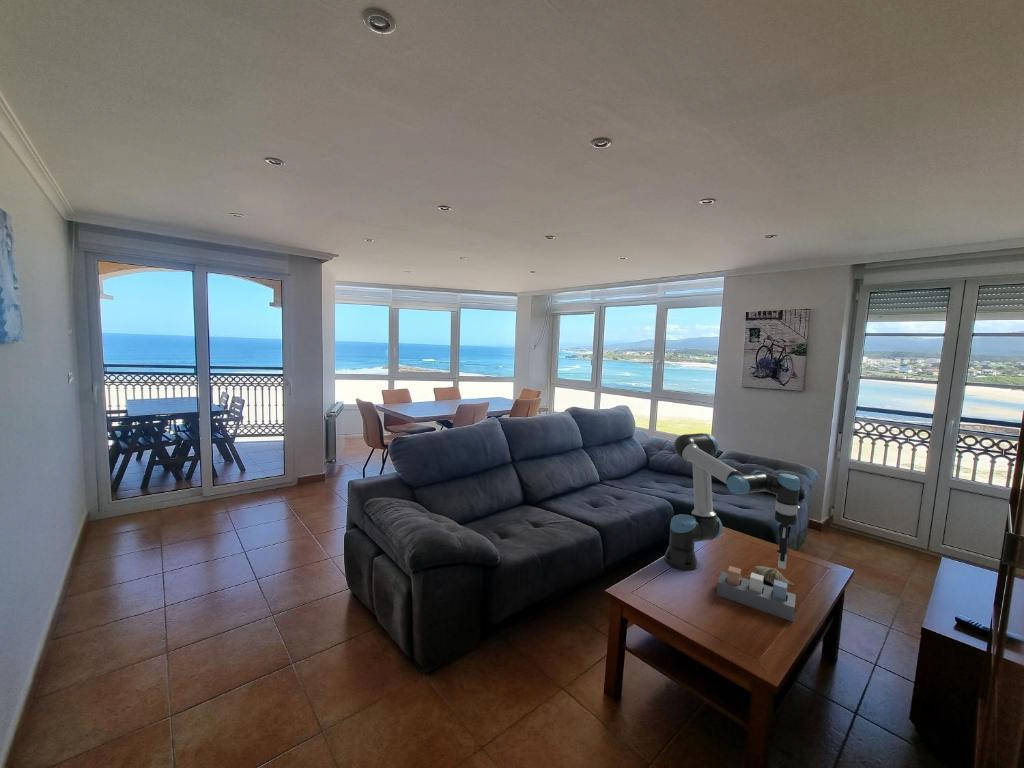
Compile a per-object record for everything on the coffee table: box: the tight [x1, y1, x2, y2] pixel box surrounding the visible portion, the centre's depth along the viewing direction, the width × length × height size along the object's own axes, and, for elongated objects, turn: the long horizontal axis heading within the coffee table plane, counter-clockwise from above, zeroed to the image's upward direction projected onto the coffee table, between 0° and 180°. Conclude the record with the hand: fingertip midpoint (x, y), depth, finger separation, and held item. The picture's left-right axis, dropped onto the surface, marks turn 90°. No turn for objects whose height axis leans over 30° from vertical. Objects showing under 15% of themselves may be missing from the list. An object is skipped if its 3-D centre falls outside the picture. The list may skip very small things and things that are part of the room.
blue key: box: [772, 579, 788, 601], centre depth 171 cm, size 5×5×7 cm
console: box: [716, 571, 796, 622], centre depth 177 cm, size 28×11×6 cm, turn 53°
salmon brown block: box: [727, 565, 742, 586], centre depth 181 cm, size 5×5×7 cm
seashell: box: [755, 565, 795, 587], centre depth 189 cm, size 14×9×10 cm
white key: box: [749, 572, 764, 593], centre depth 176 cm, size 5×5×7 cm
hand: (781, 567), depth 170 cm, fingers closed
